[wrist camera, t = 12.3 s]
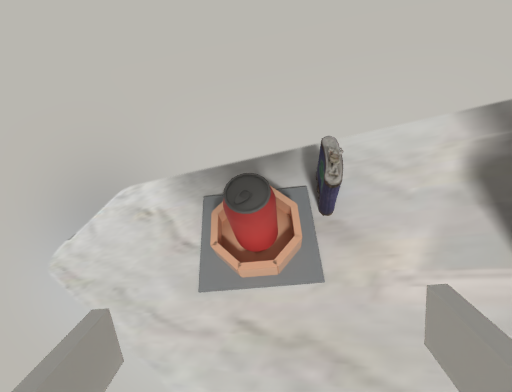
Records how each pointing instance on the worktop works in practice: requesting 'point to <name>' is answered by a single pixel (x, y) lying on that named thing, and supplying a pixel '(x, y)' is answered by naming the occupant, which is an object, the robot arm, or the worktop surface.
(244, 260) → the dish
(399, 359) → the worktop surface
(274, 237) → the beer can
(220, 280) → the mat
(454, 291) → the robot arm
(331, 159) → the flask
